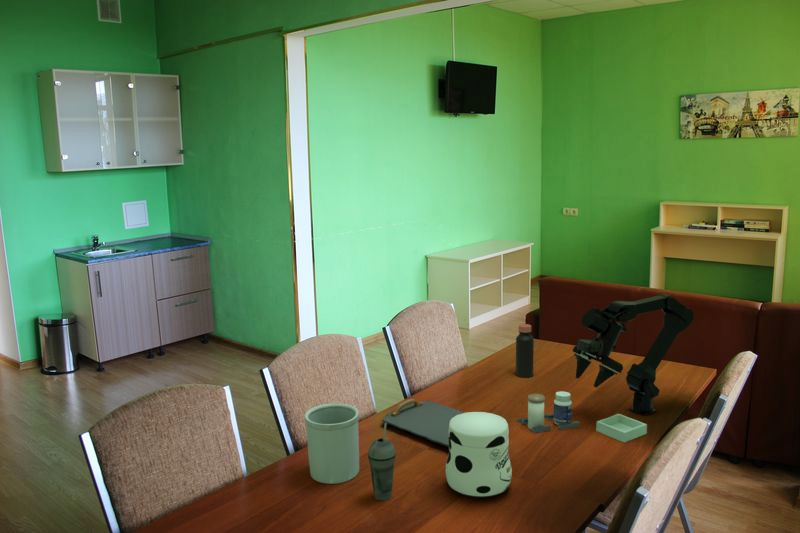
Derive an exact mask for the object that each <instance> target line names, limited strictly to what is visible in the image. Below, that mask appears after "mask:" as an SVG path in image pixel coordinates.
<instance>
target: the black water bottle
mask: <svg viewBox="0 0 800 533" xmlns="http://www.w3.org/2000/svg"><path fill="white" fill-rule="evenodd" d="M518 333H519V334H518V335H517V336H516V337H515V375H516V377H520V378H532V377H533V376H534V354H535V352H534V349H535V348H534V347H535V346H534V344H535V343H534V341H535V340H534V336H533V335H531V333H532V325H531V324H527V323H521V324H519V325H518Z"/></svg>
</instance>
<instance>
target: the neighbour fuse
mask: <svg viewBox="0 0 800 533" xmlns="http://www.w3.org/2000/svg"><path fill="white" fill-rule="evenodd" d="M545 399H546V398H545V395H544V394H541V393H531V394H530V393H529V394H528V395H527V409H528V410H527V417H528V424H527V427H528V428H529V430H532V427H538V426H544V425H545V418H544V415H545Z"/></svg>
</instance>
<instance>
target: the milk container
mask: <svg viewBox="0 0 800 533" xmlns="http://www.w3.org/2000/svg"><path fill="white" fill-rule="evenodd" d="M509 431H510V430H509V424H508V422H507V420H506V419H505V418H504V417H503V416H501V415H498V414H495V413H491V412H484V411H471V412H470V411H469V412H465V413H463V414H459V415H456V416H455V417H453V418H452V419H451V421H450V423H449V447H448V455H447V458H446V463H445V477H446V481H447V483H448V486H449V487H450V488H451V489H452V490H453V491H455V492H456V493H458V494H460V495H461V496H465V497H469V498H478V499H487V498H491V497H493V498H494V497H495V496H497V495H500V494H503V493H504V492H505V491H507V489H508V488H509V487H510V485H511V480H512V476H513V474H512V473H513V469H512V463H511V460H510V456H509V455H510V454H509V445H510V444H509V442H510V440H509V436H510V435H509V434H510V433H509Z"/></svg>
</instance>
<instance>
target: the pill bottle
mask: <svg viewBox="0 0 800 533" xmlns="http://www.w3.org/2000/svg"><path fill="white" fill-rule="evenodd" d="M571 396H572V395H571V393H570V392H568V391H556V392H555V396H554V397H555V399H554V400H553V413H554V416H553V419H552V420H553V423H554V424H555V425H557V426H558V424H562V423H568V422H572V418H573V417H572V415H573V414H572V413H573V412H572V411H573V402H572V400H571Z"/></svg>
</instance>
